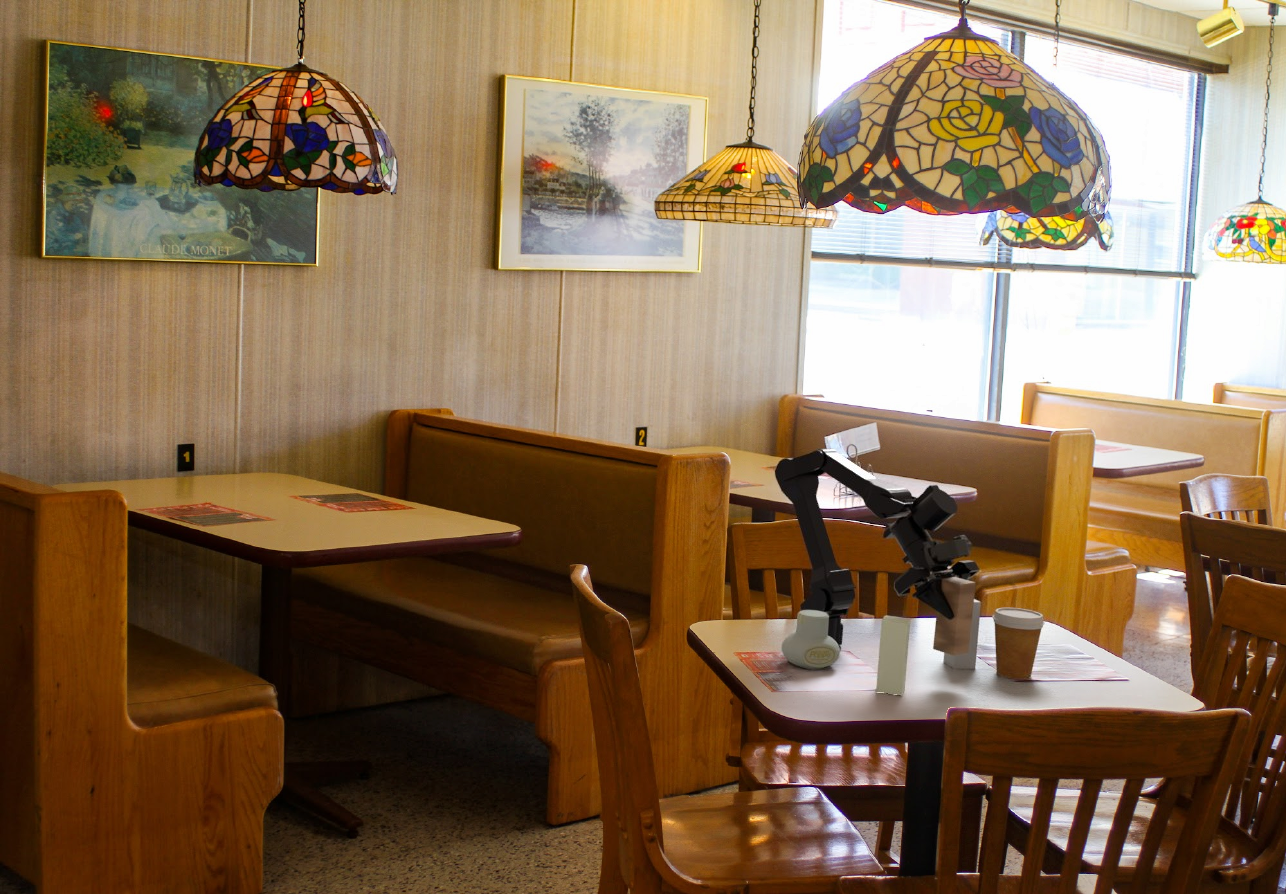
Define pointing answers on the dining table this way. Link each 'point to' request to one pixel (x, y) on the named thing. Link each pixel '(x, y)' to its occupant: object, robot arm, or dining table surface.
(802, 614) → the air freshener
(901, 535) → the robot arm
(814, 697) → the dining table surface
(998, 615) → the disposable coffee cup
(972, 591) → the walnut post
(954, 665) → the grey post
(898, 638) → the sage post
